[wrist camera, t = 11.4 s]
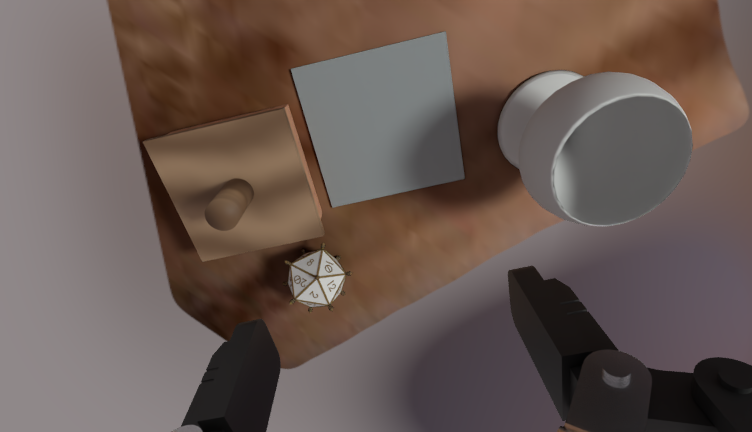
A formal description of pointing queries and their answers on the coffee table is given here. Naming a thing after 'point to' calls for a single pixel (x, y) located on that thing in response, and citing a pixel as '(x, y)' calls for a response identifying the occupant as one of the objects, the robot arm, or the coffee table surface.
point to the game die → (316, 278)
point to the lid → (238, 184)
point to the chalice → (595, 144)
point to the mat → (383, 119)
